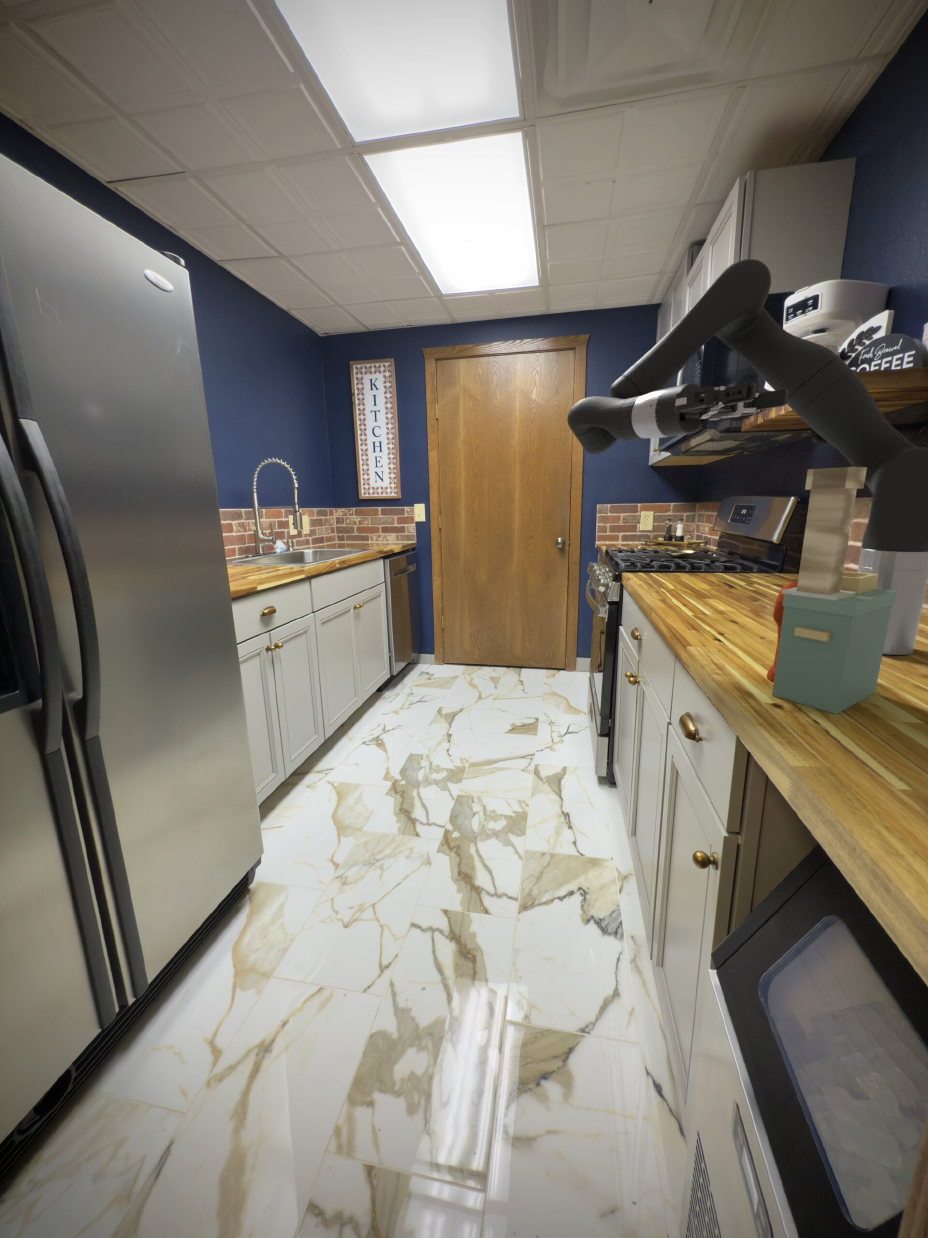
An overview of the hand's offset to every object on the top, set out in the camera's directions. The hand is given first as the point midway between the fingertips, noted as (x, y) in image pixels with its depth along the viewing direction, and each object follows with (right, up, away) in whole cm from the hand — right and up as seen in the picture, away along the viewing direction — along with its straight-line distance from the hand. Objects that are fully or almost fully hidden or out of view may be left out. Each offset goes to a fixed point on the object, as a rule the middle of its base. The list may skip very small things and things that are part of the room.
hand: (771, 394), depth 68 cm
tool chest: (+6, -41, -1) cm, 42 cm away
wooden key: (+3, -28, -5) cm, 28 cm away
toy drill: (+8, -40, +9) cm, 41 cm away
